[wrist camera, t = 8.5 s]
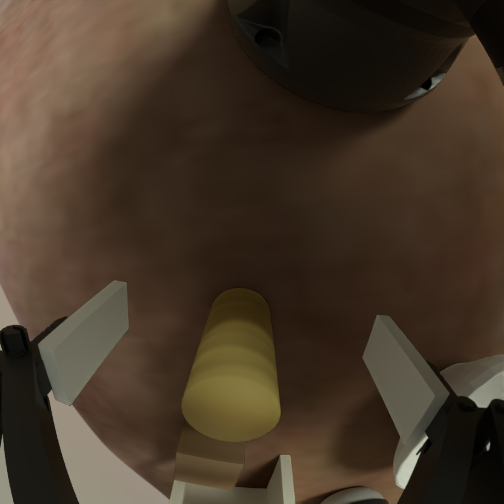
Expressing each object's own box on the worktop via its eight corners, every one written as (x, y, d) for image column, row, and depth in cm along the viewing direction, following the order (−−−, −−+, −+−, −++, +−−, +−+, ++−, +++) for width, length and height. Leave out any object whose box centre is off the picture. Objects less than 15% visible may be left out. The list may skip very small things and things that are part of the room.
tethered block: (208, 280, 18) (172, 364, 10) (284, 296, 19) (306, 388, 10) (183, 440, 22) (165, 515, 14) (235, 449, 23) (230, 527, 14)
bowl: (351, 391, 21) (376, 454, 14) (495, 290, 19) (545, 322, 12) (391, 460, 24) (407, 503, 17) (497, 388, 22) (525, 419, 15)
